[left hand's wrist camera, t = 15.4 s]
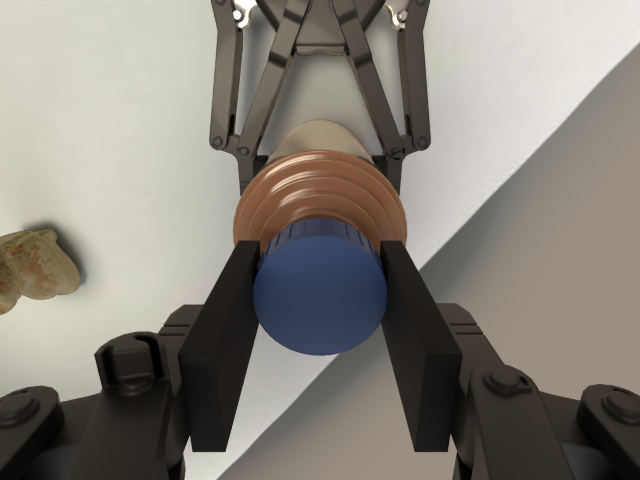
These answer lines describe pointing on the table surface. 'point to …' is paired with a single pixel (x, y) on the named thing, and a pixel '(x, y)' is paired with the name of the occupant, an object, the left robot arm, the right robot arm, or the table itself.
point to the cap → (320, 287)
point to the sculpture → (34, 268)
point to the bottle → (320, 188)
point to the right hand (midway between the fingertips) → (319, 240)
